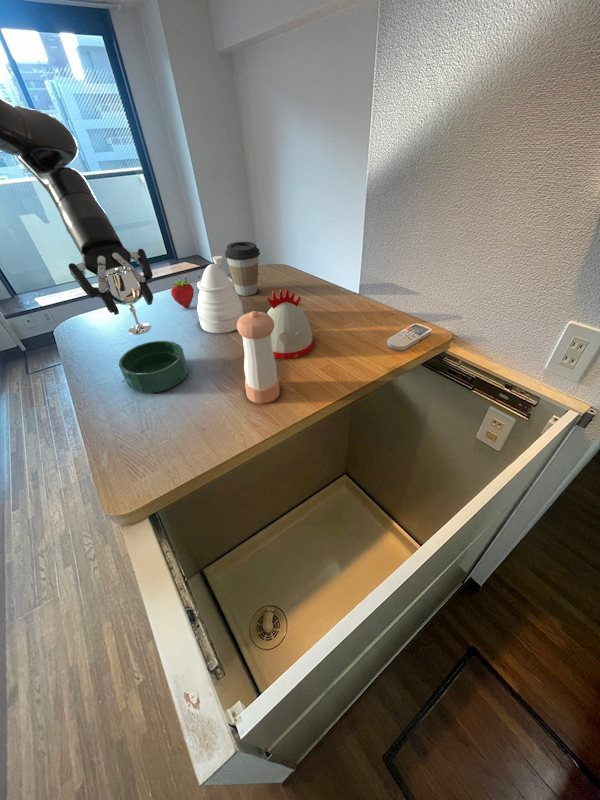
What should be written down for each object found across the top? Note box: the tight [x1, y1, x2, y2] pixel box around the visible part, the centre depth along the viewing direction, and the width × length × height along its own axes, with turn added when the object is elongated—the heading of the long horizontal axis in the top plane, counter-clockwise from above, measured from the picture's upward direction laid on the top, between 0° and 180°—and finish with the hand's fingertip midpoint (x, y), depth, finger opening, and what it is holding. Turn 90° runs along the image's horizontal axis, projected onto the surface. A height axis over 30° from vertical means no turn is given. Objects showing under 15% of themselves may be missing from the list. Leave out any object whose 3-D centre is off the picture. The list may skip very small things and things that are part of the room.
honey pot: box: [196, 255, 245, 334], centre depth 90 cm, size 13×13×18 cm
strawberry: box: [170, 275, 195, 309], centre depth 100 cm, size 6×8×10 cm
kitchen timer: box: [266, 287, 313, 360], centre depth 82 cm, size 14×14×15 cm
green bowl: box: [118, 340, 189, 394], centre depth 75 cm, size 14×14×6 cm
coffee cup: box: [224, 241, 261, 297], centre depth 108 cm, size 11×11×15 cm
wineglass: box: [104, 267, 152, 336], centre depth 64 cm, size 6×6×12 cm
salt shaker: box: [236, 310, 280, 404], centre depth 65 cm, size 7×7×19 cm
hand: (134, 307), depth 63 cm, fingers closed on wineglass, 6 cm apart
